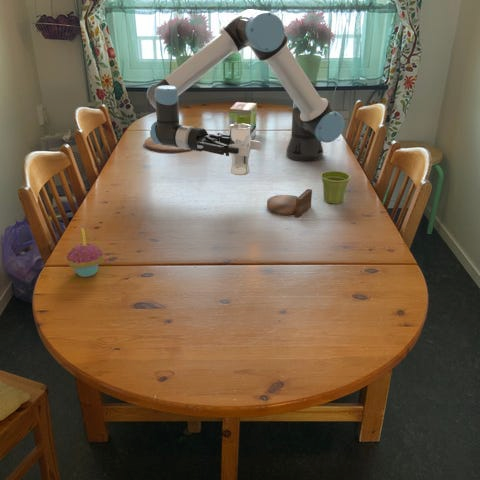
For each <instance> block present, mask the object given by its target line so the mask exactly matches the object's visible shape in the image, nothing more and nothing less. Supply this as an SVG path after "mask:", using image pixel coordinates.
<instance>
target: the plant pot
mask: <svg viewBox="0 0 480 480" xmlns="http://www.w3.org/2000/svg"><path fill="white" fill-rule="evenodd" d="M320 178H321V182H322V188H323V200H324V202H326V203H327V204H331V203H332V204H335V205H336V204H341V203H342V202H343V201H344V198H345V193H346V189H347V185H348V183H349V180H350V179H351V175H350V174H348V173H347V172H343V171H341V170H339V171H337V170H328V171H324V172H321V174H320Z"/></svg>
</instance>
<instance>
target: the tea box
mask: <svg viewBox="0 0 480 480" xmlns="http://www.w3.org/2000/svg"><path fill="white" fill-rule="evenodd" d="M257 112H258V104H257V102H242V101H241V102H240V101H237V102H235V103H234V104H233V105H232V106H231V107H230V108H229V123H228V124H229V125H228V126H229V127H228V129H229V131H230V125H232V124H248V125H250V126H251V140H253V139H254V137H255V136H256V133H257V116H258V115H257V114H258V113H257Z"/></svg>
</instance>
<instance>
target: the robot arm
mask: <svg viewBox="0 0 480 480" xmlns="http://www.w3.org/2000/svg"><path fill="white" fill-rule="evenodd" d="M285 32H286V31H285V26H284V23H283V22H282V20H281V19H280V17H279V16H278V15H277V14H275V13H273V12H272V11H268V10H260V9H252V8H251V9H250V8H249V9H246V10H243V11H242V12H240V13H239V14H238V15H235V17H234V18H232V19H231V20H230V21H229V22H227V23H226V24H225V25H224V26H223V27H222V28H220V29H219V34H218V35H216V36H215V37H214V38H213V39H212V40H210V41H208V43H206V44H205V45H204V46H203V47H201V48H200V49H199V50H197V52H196V53H194V54H193V55H191V56H190V57H189V58H188V59H187V60H185V61H184V62H183V63H182V64H181V65H179V66H178V67H177V68H176V69H174V70H173V71H171V73H169V74H168V75H166V77H164V78H163V79H162V80H161V81H159V82H158V83H153V84H151V85H150V86H149V87H148V88H147V91H146V98H147V101H148V102H149V104H150V105H151V106H152V107H153V108H154V109H155V115H156V116H155V117H156V121H155V122H153V123H152V124H151V126H150V130H149V137H151V139H152V140H153V141H154V142H155V143H158V144H162V145H165V146H166V145H167V146H173V147H179V148H185V150H187V149H191V150H190V151H196V152H208V153H212V154H216V155H221V156H223V155H225V156H226V157H229V156H230V155H231V154H236V155H241V156H247V157H249V158H250V153H249V147H243V146H237V145H232V144H231V145H229V133H222V132H217V134H214V133H210V134H209V133H208V131H207V130H206V129H205V128H203V127H198V126H197V127H196V126H191V125H183V124H180V112H179V108H180V107H179V99H180V98H179V97H180V95H181V94H182V93H184V92H185V91H187V90H188V89H189V88H190V87H192V86H193V85H194V84H195V83H197V81H199V80H200V79H201V78H202V77H204V76H205V75H206V74H208V73H209V72H210V71H211V70H213V69H214V68H215V67H216V66H218V65H219V64H220V63H221V62H222V61H224V60H226V58H228V57H229V56H230V55H231V54H233V53H236V54H237V53H239V52H240V51H241V50H243V49H244V48H247V47H250V49H251V50H252V52H253V53H254V55H255V56H256V57H257V59H258V60H259V62H266V64H267V65H268V66H269V68H270V69H271V71H272V73H274V75H275V77H276V79H278V81H279V82H280V84H281V85H282V86H283V88H284V90H285V91H286V93H287V94H288V95H289V97H290V98H291V100H292V101H293V103H292V105H293V106H292V116H291V118H292V121H291V137H290V140H289V142H288V144H287V147H286V149H285V150H286V153H285V154H286V155H285V156H286V157H287V158H289V159H291V160H294V161H300V162H301V161H302V162H312V161H314V162H315V161H319V160H320V159H323V157H324V149H323V144H322V143H325V144H327V143H331V142H335V141H336V140H337V139H338V138H339V137H340V136H341V135H342V132H343V131H344V128H345V119H344V116H343V115H342V114H341V113H340V112H338V111H336V110H334V108H333V107H332V104H331V103H330V102H329V100H328V99H327V98H325V97H321V96H320V94H319V92H317V90H316V88H315V86H314V85H313V84H312V82H311V81H310V79H309V77H308V76H307V75H306V73H305V71H304V70H303V68H302V67H301V65H300V64H299V62H298V61H297V59H296V58H295V56H294V55H293V53H292V51H291V50H290V48H289V47H288V41H289V39H288V37H287V35H286V34H285ZM250 150H256V151H260V150H261V141H259V140H255V139H254V140H253V139H252V140H251V148H250Z"/></svg>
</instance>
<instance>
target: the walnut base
mask: <svg viewBox="0 0 480 480" xmlns="http://www.w3.org/2000/svg"><path fill="white" fill-rule="evenodd" d="M312 196H313V189H310V188H307V189H306V190H305V191H303V192H302V193H301V194H300V195H299V196H296V195H290V194H280V195H279V194H277V195H274V196H271V197H269V198H267V201H266V209H267V210H268V212H269V213H271V214H273V215H277V216H284V217H285V216H286V217H291V216H295V217H296V218H301V217H303V215H304V214H306V212H308V211H309V210H310V209H311V207H312Z"/></svg>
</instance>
